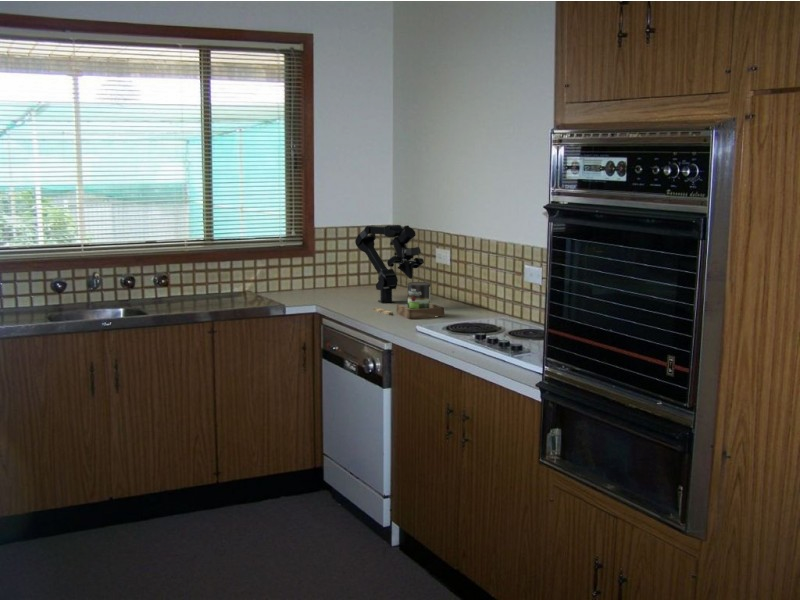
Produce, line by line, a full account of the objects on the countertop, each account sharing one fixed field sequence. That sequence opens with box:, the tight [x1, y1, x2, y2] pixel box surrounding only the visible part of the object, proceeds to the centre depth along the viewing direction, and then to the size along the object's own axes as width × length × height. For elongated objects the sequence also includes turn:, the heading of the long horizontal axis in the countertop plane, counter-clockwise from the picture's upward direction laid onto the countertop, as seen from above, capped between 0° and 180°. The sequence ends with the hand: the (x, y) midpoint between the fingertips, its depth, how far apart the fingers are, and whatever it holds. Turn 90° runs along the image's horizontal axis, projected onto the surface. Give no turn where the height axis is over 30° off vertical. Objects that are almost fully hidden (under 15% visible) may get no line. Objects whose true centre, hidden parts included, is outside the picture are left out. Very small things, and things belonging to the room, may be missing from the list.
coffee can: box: [406, 281, 432, 309], centre depth 405 cm, size 10×10×14 cm
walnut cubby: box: [396, 301, 445, 320], centre depth 405 cm, size 15×16×4 cm
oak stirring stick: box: [372, 307, 394, 316], centre depth 412 cm, size 14×2×2 cm, turn 32°
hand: (411, 278), depth 422 cm, fingers closed
